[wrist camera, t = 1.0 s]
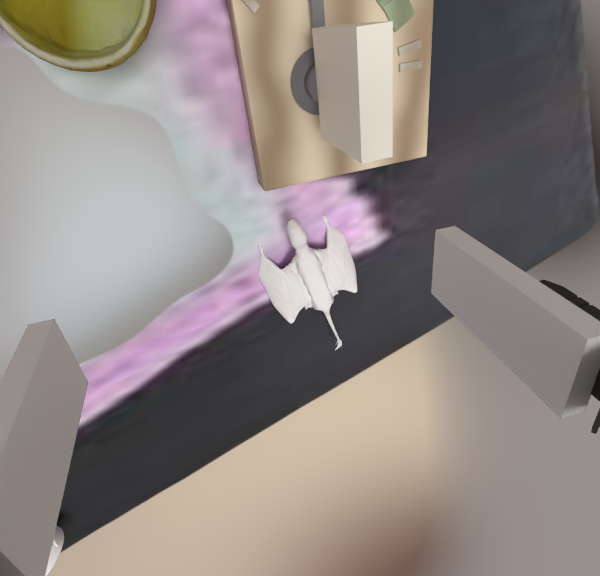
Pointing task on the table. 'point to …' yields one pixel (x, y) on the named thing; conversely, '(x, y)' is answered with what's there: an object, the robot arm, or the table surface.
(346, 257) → the winged dragon toy
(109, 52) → the mug
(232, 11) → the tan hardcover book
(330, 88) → the white upright block
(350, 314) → the table surface
